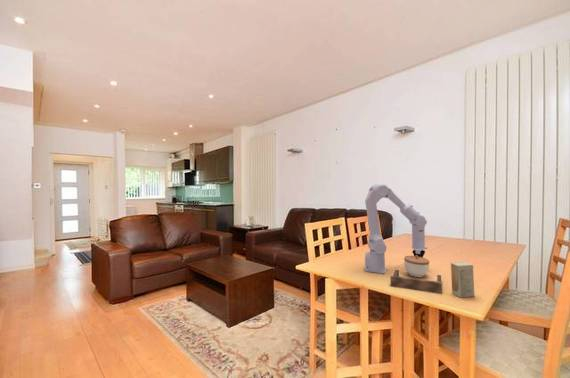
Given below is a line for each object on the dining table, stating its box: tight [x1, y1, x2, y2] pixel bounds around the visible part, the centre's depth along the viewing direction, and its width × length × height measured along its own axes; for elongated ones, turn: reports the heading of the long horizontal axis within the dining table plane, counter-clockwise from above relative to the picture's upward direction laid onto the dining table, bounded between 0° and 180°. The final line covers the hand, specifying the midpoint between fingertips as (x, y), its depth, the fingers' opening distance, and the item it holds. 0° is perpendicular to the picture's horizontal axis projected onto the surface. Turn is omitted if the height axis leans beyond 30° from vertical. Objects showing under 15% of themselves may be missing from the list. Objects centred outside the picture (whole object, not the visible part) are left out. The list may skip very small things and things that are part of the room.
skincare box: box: [450, 261, 475, 298], centre depth 103 cm, size 6×4×12 cm
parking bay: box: [390, 269, 443, 294], centre depth 116 cm, size 19×16×4 cm
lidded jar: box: [403, 255, 430, 278], centre depth 126 cm, size 11×11×9 cm
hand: (419, 264), depth 135 cm, fingers closed
